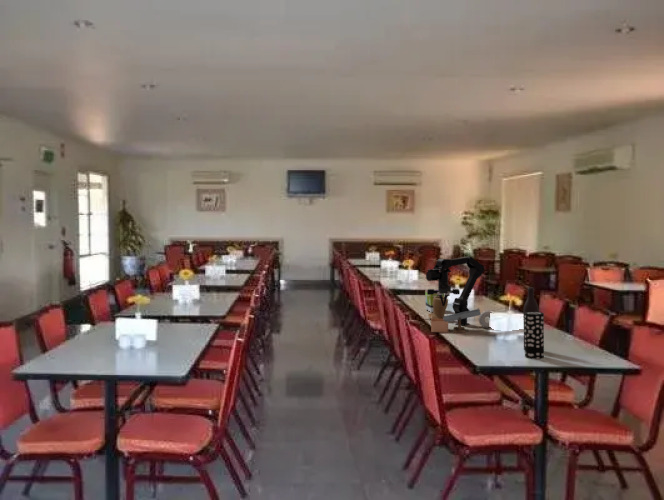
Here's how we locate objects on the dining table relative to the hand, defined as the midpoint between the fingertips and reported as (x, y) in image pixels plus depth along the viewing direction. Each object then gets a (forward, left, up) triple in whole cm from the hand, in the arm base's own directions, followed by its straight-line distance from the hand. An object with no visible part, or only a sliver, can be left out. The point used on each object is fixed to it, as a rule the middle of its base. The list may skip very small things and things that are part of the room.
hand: (443, 306), depth 398 cm
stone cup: (-22, -16, -12) cm, 30 cm away
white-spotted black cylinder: (+57, +78, -12) cm, 97 cm away
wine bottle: (+43, +71, -12) cm, 84 cm away
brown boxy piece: (+15, +5, -12) cm, 20 cm away
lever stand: (+9, +15, -12) cm, 21 cm away
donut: (-8, +24, -12) cm, 28 cm away
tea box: (-56, -38, -12) cm, 69 cm away
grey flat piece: (+5, +14, -5) cm, 16 cm away
